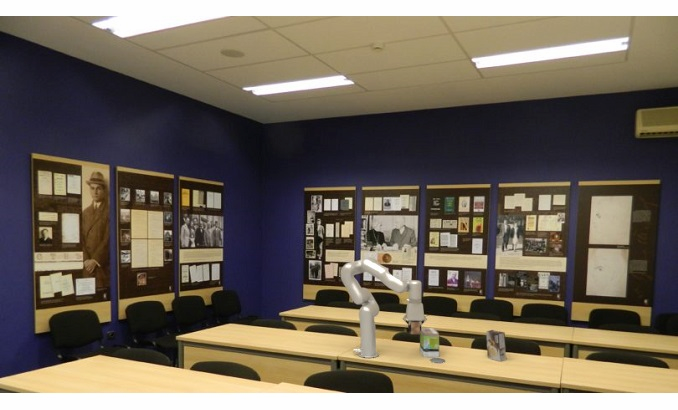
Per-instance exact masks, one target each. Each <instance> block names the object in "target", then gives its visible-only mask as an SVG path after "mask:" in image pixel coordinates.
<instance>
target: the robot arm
mask: <svg viewBox="0 0 678 410" xmlns="http://www.w3.org/2000/svg"><path fill="white" fill-rule="evenodd" d="M363 273H367V274H370V276H372V277H375V278H376V279H378V280H379V281H380V282H381V283H383V285H385V286H386V287H387V288H389V289H390V290H392V291H394V292H396V293H398V294H402V293H406V292H408V297H407V299H405V300H406V302H407V303H406V304H407V305H406V311H405V315H404V316H403V318H402V320H403V321H404V322H405V323H406V324H407V330H408V331H409V333H410V332H411V321H419V322H420V330H421V328H422V325H423V324H424V323H425V322H427V320H428V319H427V317H426V316H425V313H424V304H423V303H422V282H421V280H418V279H417V280H415V279H413V280H411V279H405V278H402V279H398V278H397V277H395V276H394V275H392V274H391V273H390V272H389V270H388V268H387V267H386V266H384V265H382V264H380V263H379V262H378V260H377V259H376V258H375V257H373V256H372V257H371V256H370V257H366V258H363V259H359V260H355V261H351V262H347V263H345V264H344V265H343V266H342V268H341V270H340V279H341V282H342V284H343V285H344V286H345V288H346V290H347V292H348V294H349V296H350V298H351V299H352V301H353V302H354V304H356V305H361V307H360V309H359V311H358V319H359V328H360V329H359V332H360V334H359V335H360V347H359V348H353V353H357V354H358V357H360V358H363V357H365V358H364V359H372V358H373V357H374V358H377V357H379V352H378V351H377V346H376V342H377V341H376V340H377V339H376V321H375V317H377V316H378V315H379V313H380V306H379V304H378V303H377V301H376V299H375V297H374V296H373V294H372V292H371V290H369V289H368V288H366V287H362V286H361V285H360V283H359V282H358V280H357V279H356V278H355V277H354V276H355V275H359V274H363Z"/></svg>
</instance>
